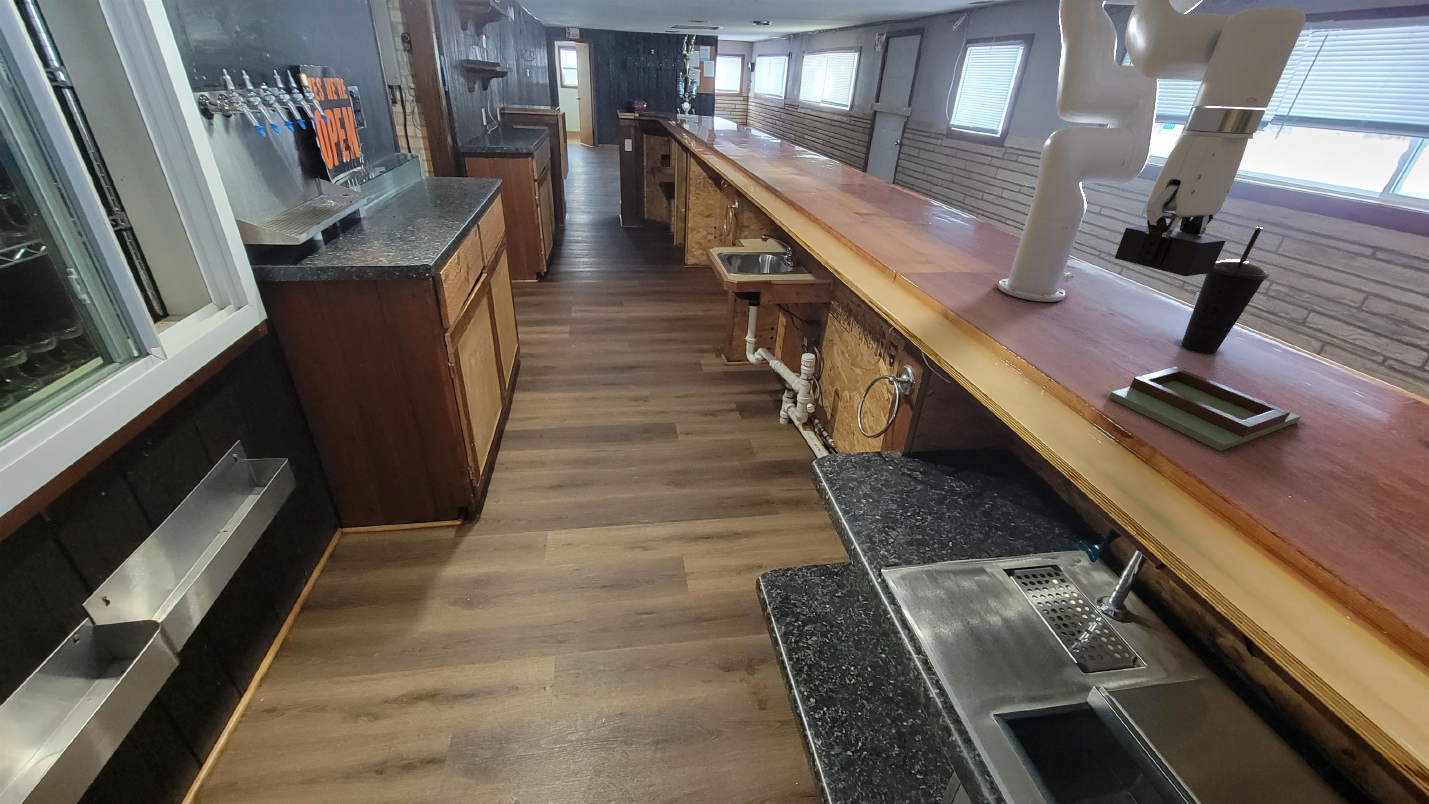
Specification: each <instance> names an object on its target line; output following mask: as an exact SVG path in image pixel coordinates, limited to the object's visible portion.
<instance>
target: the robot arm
mask: <svg viewBox="0 0 1429 804" xmlns="http://www.w3.org/2000/svg"><path fill="white" fill-rule="evenodd" d="M1202 2H1203V0H1059V7H1058V15H1059V16H1058V17H1059V25H1060V34H1061V46H1062V47H1061V57H1060V63H1059V64H1060V65H1059V74H1058V83H1057V90H1056V91H1057V92H1056V101H1055V103H1056V105H1055V108H1056V114H1057V116H1058V118H1060V119H1061V120H1063V121H1065V122H1069V123H1070V122H1072V123H1080V124H1081V123H1082V124H1099V125H1100V124H1102V125H1109V126H1110V127H1105V126H1091V125H1072V126H1071V125H1070V126H1066V127H1062V128H1059V129H1057V130H1055V131H1054V132H1053V133H1051V134H1050V135H1049V136H1048V137H1047V138H1046V140H1045V142H1044V144H1043V146H1042V150H1041V154H1040V157H1039V158H1040V159H1039V167H1038V173H1037V174H1038V175H1037V181H1036V184H1035V185H1036V186H1035V190H1034V194H1033V198H1032V201H1031V205H1030V208H1029V211H1028V215H1027V217H1026V221H1025V224H1024V228H1023V231H1022V234H1021V237H1020V240H1019V242H1018V247H1017V250H1016V254H1015V257H1014V259H1013V263H1012V266H1011V270H1010V273H1009V276H1008V278H1004V279H1001V280H999V282H998V285H997V286H998V287H997V288H998V289H999V290H1000V291H1001V292H1003V293H1004V294H1007V295H1009V296H1011V297H1015V298H1019V299H1023V300H1026V301H1032V302H1033V301H1034V302H1041V303H1042V302H1043V303H1053V302H1054V303H1055V302H1061V301H1062V300H1063V299H1064V298H1065V296H1066V291H1065V290H1064V289H1063V288H1061V285H1062V284H1063V283H1068V282H1072V281H1073V280H1074V277H1075V276H1074V274H1073V272H1065V270H1066V267H1067V264H1068V262H1069V259H1070V256H1071V253H1072V250H1073V247H1074V245H1075V242H1076V239H1077V236H1078V233H1079V231H1080V228H1081V225H1082V222H1083V220H1084V217H1085V214H1086V209H1087V201H1086V197H1085V194H1084V192H1083V191H1084V190H1083V189H1082V184H1089V183H1090V184H1106V185H1120V184H1126V183H1129V182H1133V180H1135V179H1136V178H1137V177H1139V176H1140V174H1141V173H1142V172H1143V171H1144V168H1145V167H1146V165H1147V163H1148V160H1149V156H1150V153H1151V147H1152V142H1153V141H1152V140H1153V134H1154V126H1155V119H1156V112H1157V105H1158V104H1157V103H1158V96H1159V83H1158V81H1159V80H1174V81H1175V80H1176V81H1177V80H1178V81H1193V82H1201V83H1200V85H1199V87H1198V90H1197V92H1196V95H1195V97H1194V100H1193V102H1192V105H1191V106H1192V107H1191V108H1190V110H1189V113H1188V115H1187V118H1186V121H1185V123H1184V125H1183V127H1182V130H1181V132H1180V135H1179V137H1178V138H1177V140H1176V141H1175V142H1174V144H1173V146H1172V148H1171V150H1170V151H1169V154H1168V155H1167V157H1166V160H1165V161H1164V163H1163V166H1162V168H1161V169H1160V171H1159V174H1158V175H1157V178H1156V180H1155V182H1154V184H1153V187H1152V188H1151V191H1150V194H1149V196H1148V199H1147V202H1146V204H1145V209H1146V210H1145V214H1146V216H1147V219H1146V226H1148V227H1147V229H1146V231H1145V233H1146V237H1145V239H1144V242H1143V244H1142V247H1141V249H1140V252H1139V254H1138V256H1137V259H1136V261H1137V262H1138V263H1141V264H1145V265H1149V266H1153V267H1160V266H1161V265H1162V263H1163V260H1164V258H1165V256H1166V253H1167V251H1168V249H1169V246H1170V244H1171V242H1172V238H1169V237H1170V236H1171V234H1172V232H1173V231H1174V230H1175V229H1176V228H1177V227H1178V225H1179V223H1180V226H1179V231H1180V232H1185V233H1190V234H1195V235H1200V236H1204V234H1205V233H1206V230H1207V227H1208V225H1209V224H1210V223H1211V222H1212V221H1213V219H1214V217H1215V215H1216V214H1217V213H1219V211H1220V210H1221V209H1222V208H1223V205H1224V202H1225V201H1226V198H1227V196H1229V193H1230V190H1231V188H1232V186H1233V184H1234V181H1235V178H1236V176H1237V173H1238V171H1239V168H1240V166H1241V163H1242V160H1243V157H1244V155H1245V151H1246V148H1247V145H1248V142H1249V140H1254V138H1255V136H1256V133H1257V131H1258V129H1259V127H1260V125H1261V122H1262V120H1263V118H1264V115H1265V113H1266V111H1267V108H1268V106H1269V105H1270V103H1271V99H1272V98H1273V95H1274V93H1275V91H1276V89H1277V87H1278V85H1279V82H1280V80H1281V78H1282V77H1283V74H1284V71H1285V70H1286V67H1287V65H1288V62H1289V61H1290V58H1291V56H1292V54H1293V52H1294V49H1295V47H1296V45H1297V43H1298V40H1299V38H1300V36H1301V34H1302V32H1303V29H1304V27H1305V24H1306V21H1307V15H1306V12H1304V10H1302V9H1301V8H1297V7H1289V6H1267V7H1264V6H1263V7H1254V8H1247V9H1244V10H1240V11H1238V12H1235V13H1234V14H1225V13H1201V12H1190V11H1191V10H1193V9H1194V8H1196V7H1197V6H1198V5H1200V3H1202ZM1104 5H1120V6H1122V5H1123V6H1133V8H1132V10H1131V12H1130V15H1129V17H1128V21H1127V24H1126V27H1125V33H1124V46H1125V50H1126V52H1127V54H1128V57H1129V59H1130V63H1131V64H1132V65H1124V64H1123V65H1122V64H1118V63H1117V61H1116V50H1117V44H1118V34H1117V30H1116V27H1115V25H1114V23H1113V20H1112V18H1111V17H1110V15H1109V14H1108V13H1107V12H1106V10H1105V9H1104ZM1167 220H1169V222H1168V224H1167Z"/></svg>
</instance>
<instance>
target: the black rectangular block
mask: <svg viewBox="0 0 1429 804" xmlns="http://www.w3.org/2000/svg"><path fill="white" fill-rule="evenodd" d="M1147 227H1148V225H1143V226H1130V227H1125V229H1124V232H1123V234H1122V237H1121V240H1120V242H1119V244H1118V247H1117V250H1116V252H1115V255H1114V259H1115V260H1119V261H1123V262H1127V263H1131V264H1135V265H1139V266H1143V267H1146V268H1150V269H1154V270H1158V271H1161V272H1166V273H1170V274H1174V275H1177V276H1178V275H1179V276H1182V277H1192V276H1198V275H1199V276H1200V275H1206V274H1207V273H1211V271H1212V269H1213V267H1214V265H1215V263H1216V262H1218V258H1219V257H1220V255H1221V253H1222V250H1223V249H1224V246H1225V244H1226V241H1227V240H1224V239H1219V238H1215V237H1209V236H1204V235H1195V234H1190V233H1185V232H1182V231H1180V230H1175V229H1174V231H1173V232H1172V234H1171V236H1170V237H1169V238H1172V242H1171V244H1170V246H1169V249H1168V251H1167V253H1166V256H1165V258H1164V260H1163V263H1162V265H1161V266H1160V267H1153V266H1149V265H1145V264H1141V263H1138V262H1137V261H1136V259H1137V256H1138V254H1139V252H1140V249H1141V247H1142V244H1143V242H1144V239H1145V237H1146V233H1145V231H1146V229H1147Z"/></svg>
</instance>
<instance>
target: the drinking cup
mask: <svg viewBox="0 0 1429 804" xmlns="http://www.w3.org/2000/svg"><path fill="white" fill-rule="evenodd" d="M1262 229H1263V227H1256V228H1255V230H1254V232H1253V233H1252V236H1251V238H1250V239H1249V241H1248V242H1247V243H1248V244H1247V245H1246V247H1245V249H1244V251H1243V253H1242V255H1241V257H1240V259H1225V260H1220V261H1216V263H1215V265H1214V267H1213V269H1212V271H1211V273H1207V274H1205V277H1204V280H1203V282H1202V285H1201V288H1200V291H1199V293H1198V296H1197V299H1196V302H1195V304H1194V307H1193V309H1192V313H1191V316H1190V318H1189V321H1188V324H1187V327H1186V329H1185V332H1184V335H1183V336H1182V337H1183V338H1182V341H1181V344H1180V345H1181V346H1182V347H1183V348H1185V349H1187V350H1190V351H1193V352H1196V353H1201V354H1207V355H1210V354H1212V355H1213V354H1216V353H1217V351H1218V350H1219V348H1220V347H1221V346H1222V344H1223V343H1224V341H1225V340H1226V338H1227V337H1228V335H1229V333H1230V332H1231V330H1232V329H1233V328H1234V327H1235V325H1236V323H1237V322H1238V320H1239V319H1240V317H1241V316H1242V314H1243V312H1244V311H1245V309H1246V308H1247V307H1248V305H1249V303H1250V302H1251V301H1252V299H1253V298H1254V296H1255V294H1256V293H1257V291H1258V290H1259V288H1260V287H1261V286H1262V284H1263V283H1264V281H1265V280H1267V279H1268V278H1269V276H1270V273H1269V272H1267V271H1266V270H1264V269H1262V267H1260V266H1258V265H1257V264H1255V263H1252V262H1249V261H1247V259H1248V257H1249V255H1250V253H1251V251H1252V249H1253V247H1254V245H1255V243H1256V242H1257V240H1258V238H1259V235H1260V233H1261V232H1262Z"/></svg>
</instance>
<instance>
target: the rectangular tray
mask: <svg viewBox="0 0 1429 804" xmlns="http://www.w3.org/2000/svg"><path fill="white" fill-rule="evenodd" d="M1108 399H1110V400H1112V401H1114V402H1116V403H1118V404H1120V405H1123V406H1125V407H1127V408H1129V409H1131V410H1133V411H1135V412H1137V413H1139V414H1142V415H1143V416H1146V417H1148V418H1149V419H1151V420H1155V421H1156V422H1158V423H1160V424H1162V425H1165V426H1166V427H1169V428H1171V429H1173V430H1174V431H1177V432H1179V433H1182V434H1184V435H1185V436H1188V437H1190V438H1192V439H1194V440H1196V441H1199V442H1200V443H1202V444H1205V445H1207V446H1208V447H1211V448H1212V449H1215V450H1217V451H1219V452H1222V451H1224V450H1227V449H1230V448H1234V447H1236V446H1238V445H1241V444H1245V443H1246V442H1249V441H1251V440H1252V441H1253V440H1255V439H1257V438H1260V437H1262V436H1266V435H1267V434H1270V433H1273V432H1275V431H1278V430H1281V429H1284V428H1286V427H1288V426H1292V425H1295V424H1297V423H1298V422H1299V420H1300V419H1301V417H1302V415H1299V414H1296V413H1294V412H1291V411H1289V410H1287V409H1284V408H1281V407H1279V406H1277V405H1275V404H1271V403H1268V402H1266V401H1264V400H1261V399H1259V398H1256V397H1254V396H1251V395H1249V394H1246V393H1243V392H1241V391H1239V390H1236V389H1234V388H1230V387H1228V386H1226V385H1223V384H1221V383H1218V382H1215V381H1213V380H1211V379H1208V378H1205V377H1203V376H1200V375H1197V374H1195V373H1193V372H1190V371H1187V370H1185V369H1183V368H1181V367H1177V366H1174V367H1170V368H1167V369H1166V368H1165V369H1162V370H1158V371H1155V372H1150V373H1147V374H1143V375H1140V376H1139V375H1138V376H1135V377H1133V379H1132V381H1131V383H1130V385H1129V386H1127V387H1124V388H1120V389H1117V390H1113V391H1111V392H1110V393H1109V396H1108Z"/></svg>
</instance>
